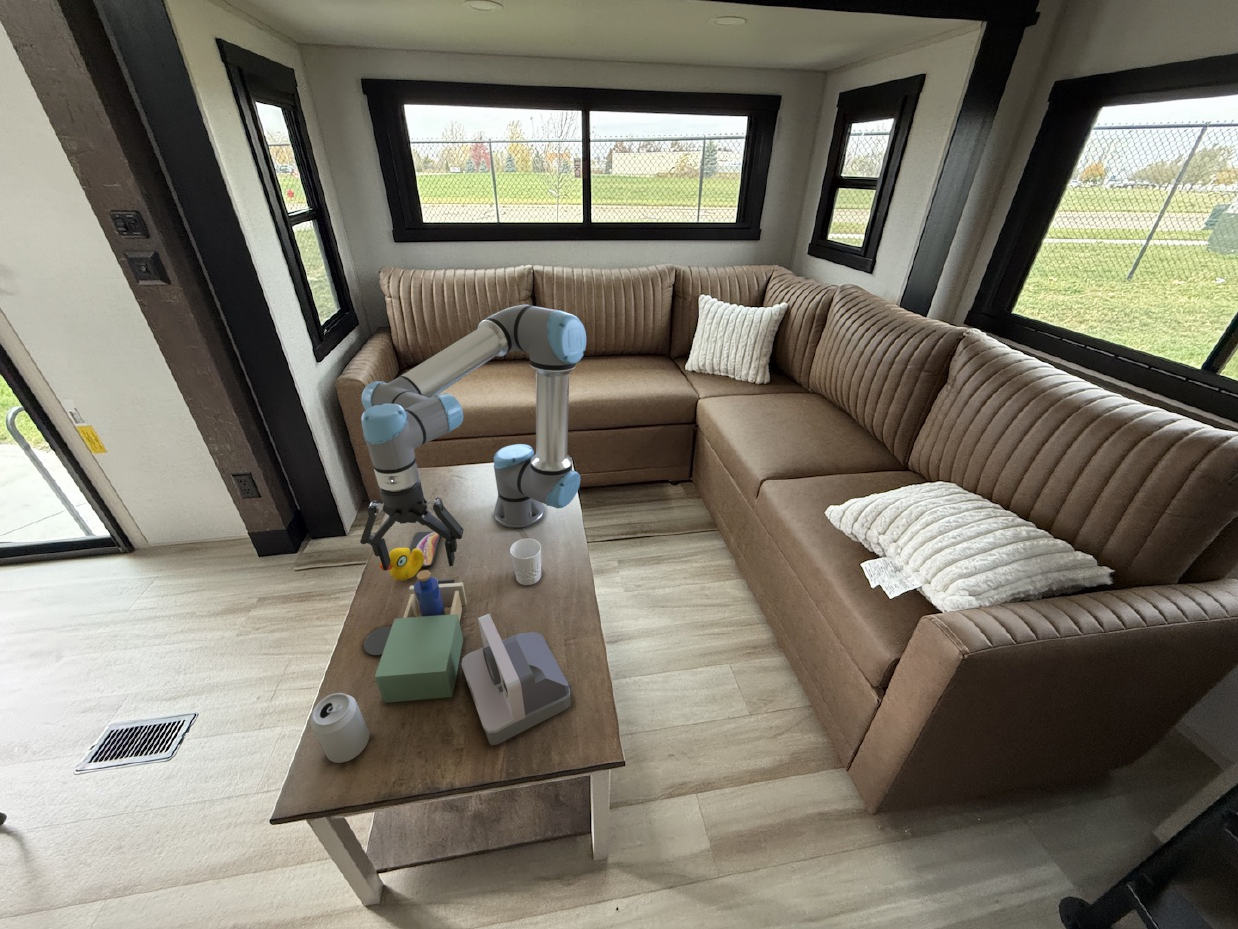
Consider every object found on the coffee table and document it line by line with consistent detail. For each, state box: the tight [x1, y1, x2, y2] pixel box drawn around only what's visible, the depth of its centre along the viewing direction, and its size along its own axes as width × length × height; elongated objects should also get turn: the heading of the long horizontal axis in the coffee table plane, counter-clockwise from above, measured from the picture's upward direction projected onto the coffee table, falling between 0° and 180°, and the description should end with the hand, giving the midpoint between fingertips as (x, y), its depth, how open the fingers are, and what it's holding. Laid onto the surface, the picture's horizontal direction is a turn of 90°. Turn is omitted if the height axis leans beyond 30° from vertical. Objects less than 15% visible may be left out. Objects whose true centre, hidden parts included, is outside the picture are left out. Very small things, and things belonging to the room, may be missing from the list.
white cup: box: [509, 537, 542, 586], centre depth 131 cm, size 8×8×10 cm
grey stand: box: [461, 613, 572, 746], centre depth 101 cm, size 21×21×15 cm
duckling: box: [379, 547, 424, 581], centre depth 129 cm, size 11×5×10 cm, turn 144°
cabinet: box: [374, 614, 464, 704], centre depth 107 cm, size 15×14×9 cm
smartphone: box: [409, 530, 442, 569], centre depth 141 cm, size 8×1×15 cm
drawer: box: [402, 578, 468, 622], centre depth 118 cm, size 18×12×7 cm
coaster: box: [363, 625, 392, 657], centre depth 115 cm, size 8×8×1 cm
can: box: [309, 692, 370, 764], centre depth 91 cm, size 8×8×12 cm
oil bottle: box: [413, 569, 446, 617], centre depth 113 cm, size 5×5×15 cm
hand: (420, 564), depth 108 cm, fingers open, 13 cm apart
